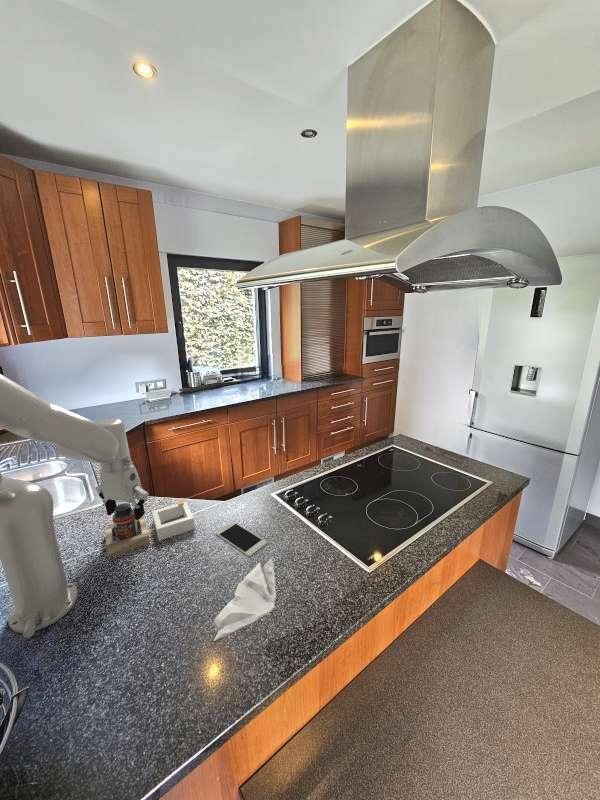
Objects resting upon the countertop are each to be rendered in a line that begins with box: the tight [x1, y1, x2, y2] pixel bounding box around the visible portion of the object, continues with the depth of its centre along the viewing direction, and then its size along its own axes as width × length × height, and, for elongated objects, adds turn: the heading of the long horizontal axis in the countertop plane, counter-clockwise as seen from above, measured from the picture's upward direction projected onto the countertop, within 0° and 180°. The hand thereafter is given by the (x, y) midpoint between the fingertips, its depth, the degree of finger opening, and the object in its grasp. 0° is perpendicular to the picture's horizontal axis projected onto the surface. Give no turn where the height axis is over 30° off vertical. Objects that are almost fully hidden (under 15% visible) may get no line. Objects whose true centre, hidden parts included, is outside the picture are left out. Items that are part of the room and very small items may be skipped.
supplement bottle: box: [112, 502, 140, 542], centre depth 95 cm, size 6×6×11 cm
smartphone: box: [215, 521, 268, 558], centre depth 97 cm, size 7×16×1 cm, turn 51°
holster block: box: [105, 515, 151, 558], centre depth 96 cm, size 11×11×3 cm
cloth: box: [213, 556, 277, 642], centre depth 77 cm, size 26×14×2 cm, turn 145°
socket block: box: [151, 500, 196, 542], centre depth 103 cm, size 11×11×5 cm
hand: (126, 514), depth 95 cm, fingers open, 9 cm apart
